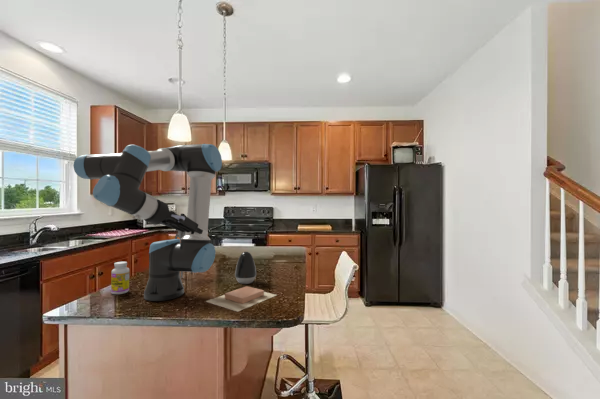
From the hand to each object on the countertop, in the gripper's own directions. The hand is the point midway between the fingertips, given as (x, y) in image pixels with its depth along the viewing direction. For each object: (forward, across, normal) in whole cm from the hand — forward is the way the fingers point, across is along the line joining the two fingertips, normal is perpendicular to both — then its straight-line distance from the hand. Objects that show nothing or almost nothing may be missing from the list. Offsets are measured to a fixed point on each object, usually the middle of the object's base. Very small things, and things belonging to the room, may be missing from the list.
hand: (205, 235), depth 105 cm
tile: (+19, +4, -19) cm, 27 cm away
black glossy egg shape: (+41, -11, -10) cm, 43 cm away
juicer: (+32, -50, -10) cm, 60 cm away
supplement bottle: (+4, -48, -24) cm, 53 cm away
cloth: (+24, +4, -19) cm, 31 cm away
